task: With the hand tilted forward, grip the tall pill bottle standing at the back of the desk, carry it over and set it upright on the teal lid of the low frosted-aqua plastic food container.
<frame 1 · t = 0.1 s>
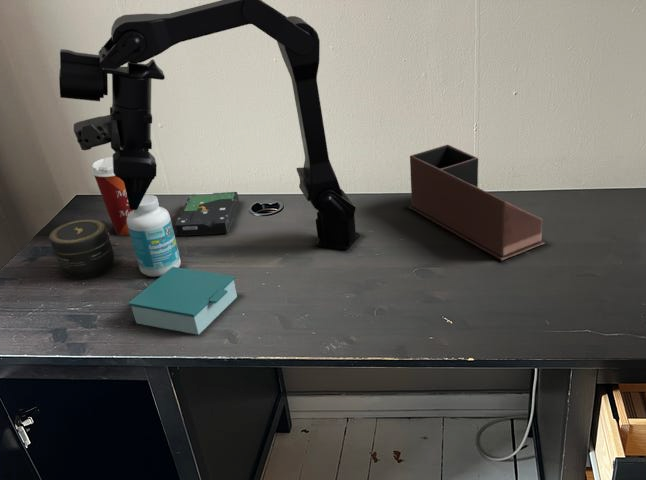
hand: (131, 199, 123), 15 cm above the table, tool pointing down, fingers open, 9 cm apart
jar: (90, 268, 137), on the table
disk drive: (210, 220, 151), on the table
desk organizer: (472, 226, 143), on the table
paper cup: (130, 229, 150), on the table
pill bottle: (161, 269, 135), on the table
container: (187, 309, 123), on the table
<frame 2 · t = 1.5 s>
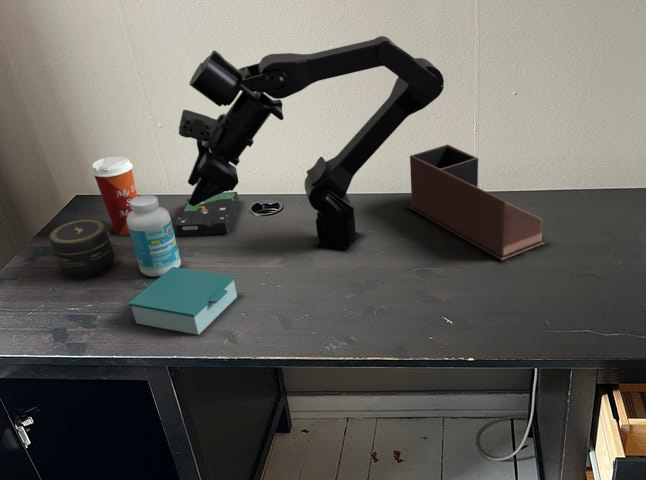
hand: (190, 194, 129), 13 cm above the table, tool tilted 45°, fingers open, 9 cm apart
nothing on the table moved.
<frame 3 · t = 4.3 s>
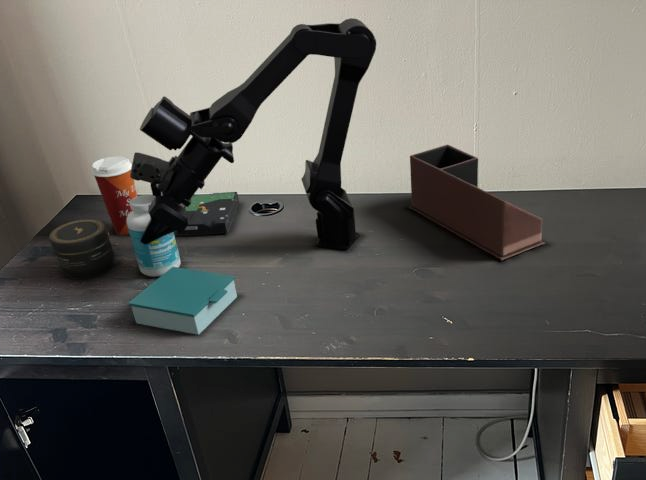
hand: (143, 233, 131), 7 cm above the table, tool tilted 45°, fingers closed on pill bottle, 7 cm apart
pill bottle: (161, 269, 135), on the table, touching gripper
everything else where it was.
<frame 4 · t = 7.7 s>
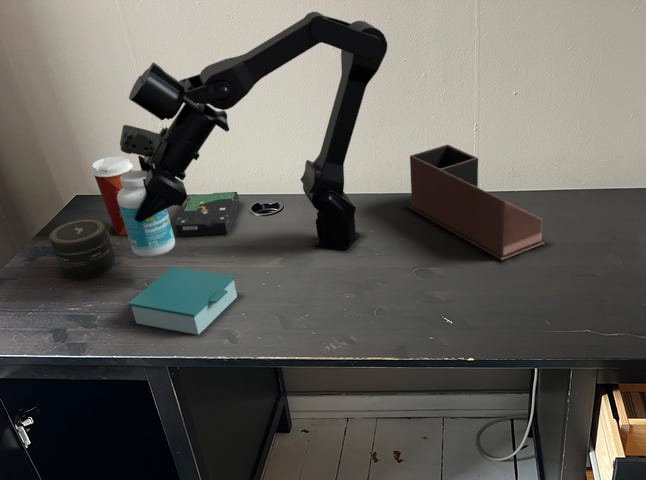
hand: (135, 211, 124), 13 cm above the table, tool tilted 45°, fingers closed on pill bottle, 7 cm apart
pill bottle: (155, 249, 129), point 6 cm above the table, touching gripper
everything else where it was.
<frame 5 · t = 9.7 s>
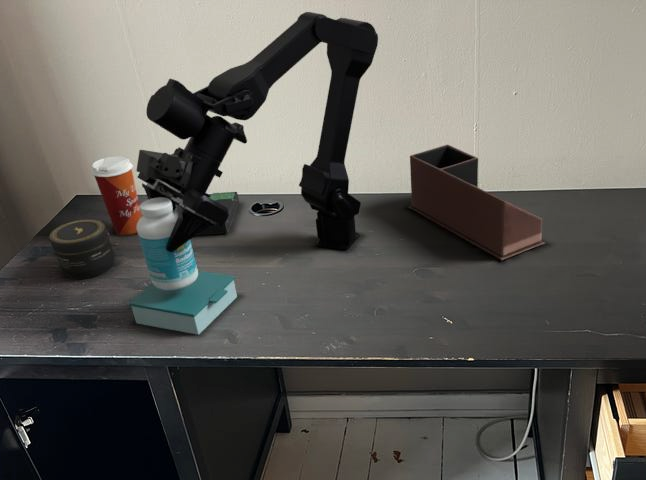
hand: (157, 242, 114), 13 cm above the table, tool tilted 45°, fingers closed on pill bottle, 7 cm apart
pill bottle: (176, 281, 119), point 6 cm above the table, touching gripper
everything else where it was.
when the fingers open (11 cm above the table, at t = 11.1 s): pill bottle stays where it is, resting on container.
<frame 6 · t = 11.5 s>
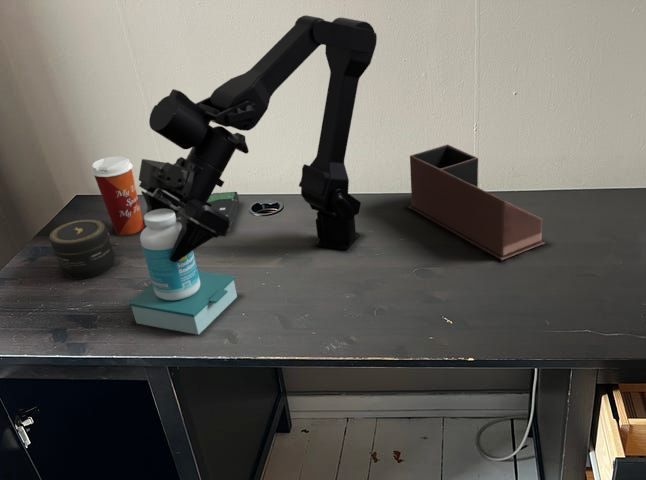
hand: (158, 251, 115), 12 cm above the table, tool tilted 45°, fingers open, 9 cm apart
pill bottle: (178, 291, 121), point 4 cm above the table, touching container
everything else where it was.
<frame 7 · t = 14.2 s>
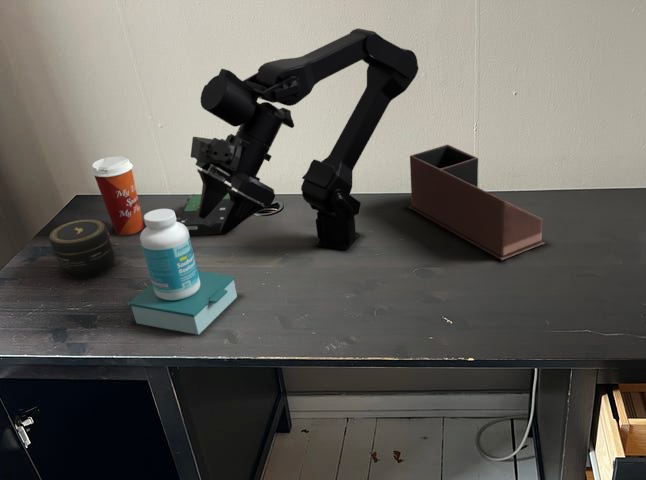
hand: (211, 225, 121), 12 cm above the table, tool tilted 40°, fingers open, 9 cm apart
nothing on the table moved.
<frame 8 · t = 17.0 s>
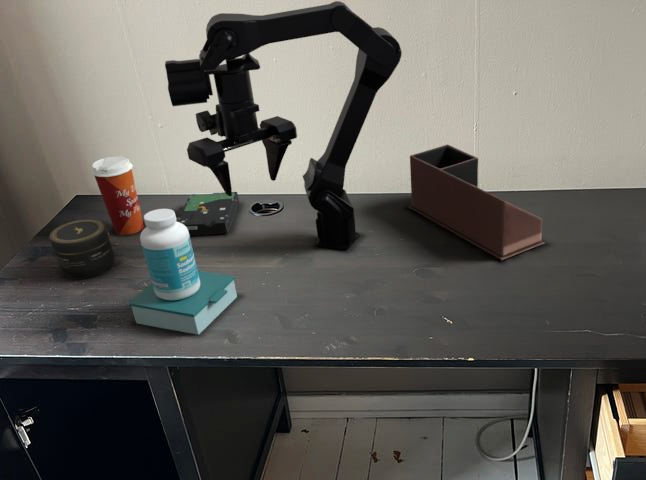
hand: (251, 187, 131), 13 cm above the table, tool pointing down, fingers open, 9 cm apart
nothing on the table moved.
at the end: pill bottle inside the target area on the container (0.7 cm from its centre), point 3.8 cm above the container's base; pill bottle tilted 0°; the gripper is holding nothing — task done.
